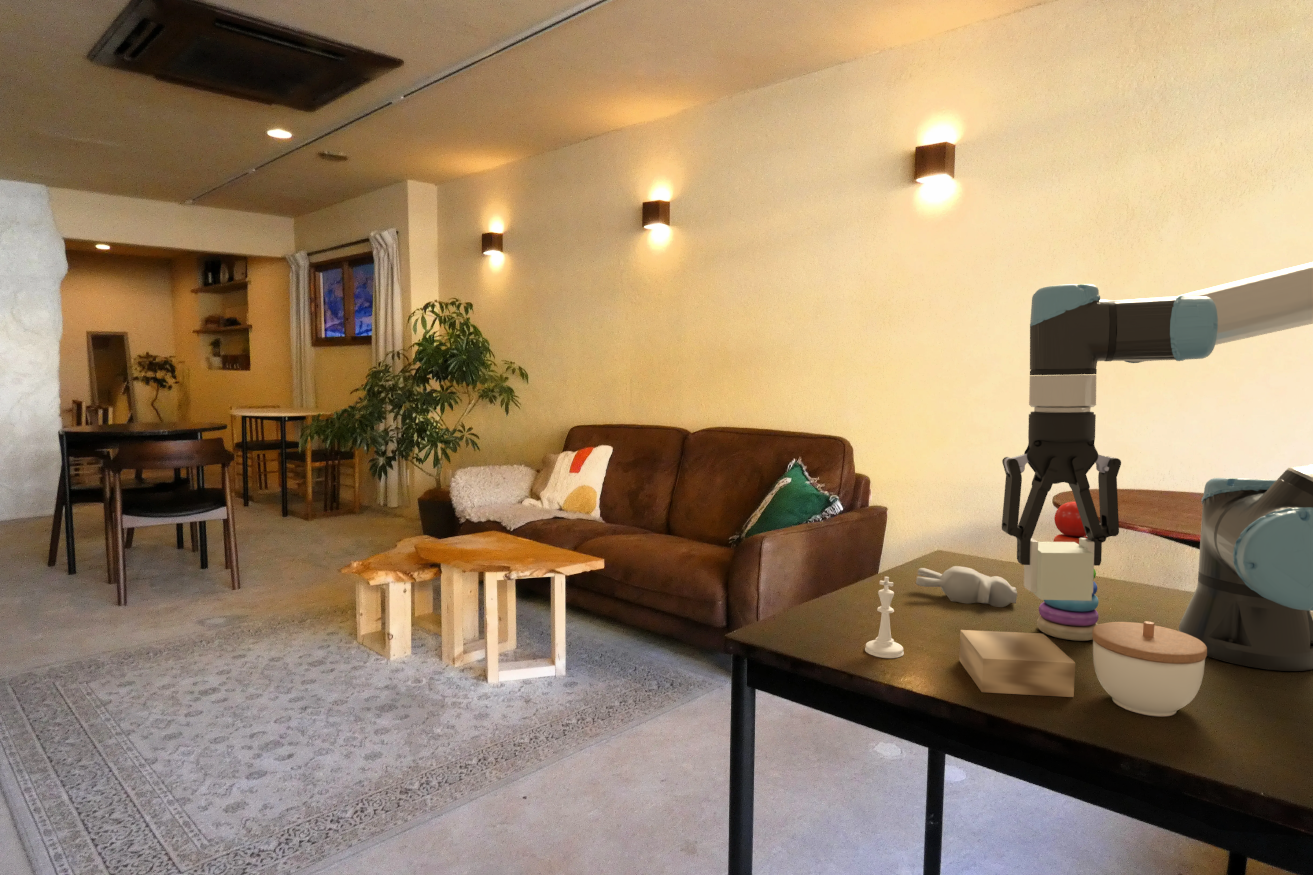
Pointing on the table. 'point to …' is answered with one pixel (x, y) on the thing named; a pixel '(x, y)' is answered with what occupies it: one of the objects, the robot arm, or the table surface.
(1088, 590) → the cube
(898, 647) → the chess piece
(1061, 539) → the stacking toy
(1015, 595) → the bunny figurine
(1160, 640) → the lidded jar
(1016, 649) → the plinth
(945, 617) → the table surface
